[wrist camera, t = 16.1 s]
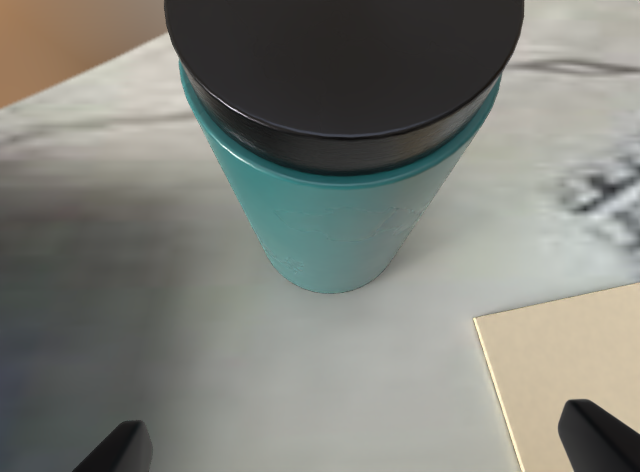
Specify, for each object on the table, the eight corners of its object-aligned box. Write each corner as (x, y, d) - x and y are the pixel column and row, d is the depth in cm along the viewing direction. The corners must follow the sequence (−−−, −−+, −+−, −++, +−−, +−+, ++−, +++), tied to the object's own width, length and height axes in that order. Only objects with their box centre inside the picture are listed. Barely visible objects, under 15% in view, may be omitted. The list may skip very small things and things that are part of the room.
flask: (429, 221, 19) (614, -26, 7) (333, 325, 17) (357, 240, 5) (327, 137, 20) (334, -190, 8) (230, 226, 19) (71, -14, 7)
